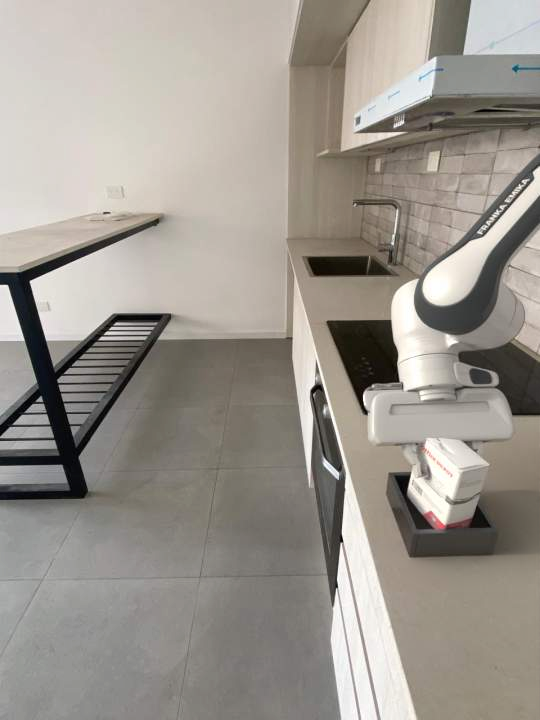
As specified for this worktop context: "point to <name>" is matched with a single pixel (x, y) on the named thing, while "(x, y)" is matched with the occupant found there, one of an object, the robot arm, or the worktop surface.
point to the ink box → (448, 483)
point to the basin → (439, 540)
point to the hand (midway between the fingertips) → (447, 476)
